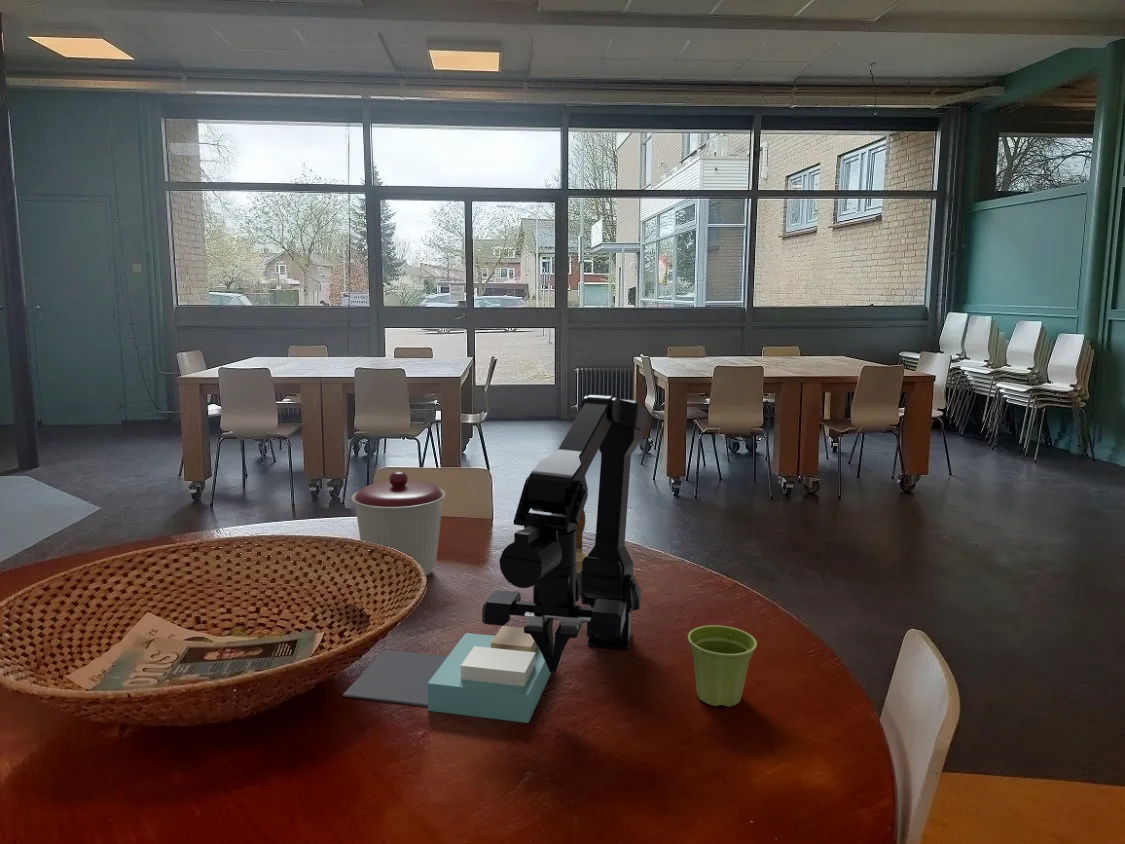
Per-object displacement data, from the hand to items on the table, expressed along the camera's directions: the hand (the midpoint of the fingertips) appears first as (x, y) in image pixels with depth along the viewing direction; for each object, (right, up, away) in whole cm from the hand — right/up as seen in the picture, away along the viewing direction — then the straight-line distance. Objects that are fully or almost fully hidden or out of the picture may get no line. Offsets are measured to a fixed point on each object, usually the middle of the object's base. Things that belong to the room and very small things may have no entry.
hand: (553, 671), depth 107 cm
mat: (-22, -4, +8) cm, 24 cm away
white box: (-8, -1, +2) cm, 8 cm away
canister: (-31, +3, +49) cm, 58 cm away
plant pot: (+23, -5, +4) cm, 24 cm away
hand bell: (+4, +2, +46) cm, 47 cm away
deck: (-9, -4, +6) cm, 11 cm away
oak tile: (-6, 0, +9) cm, 11 cm away
